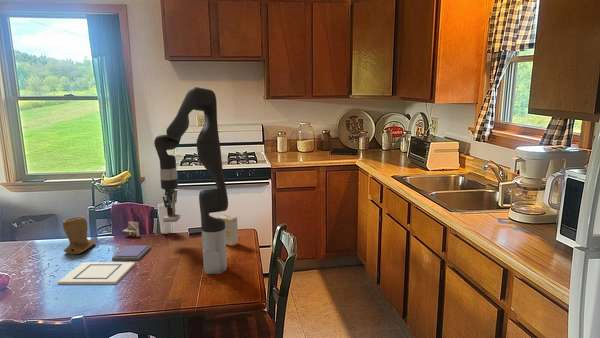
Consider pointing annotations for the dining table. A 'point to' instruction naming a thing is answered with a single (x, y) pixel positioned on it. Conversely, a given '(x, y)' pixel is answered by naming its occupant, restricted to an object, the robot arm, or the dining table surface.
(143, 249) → the pad
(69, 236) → the brown bookend
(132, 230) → the architectural model
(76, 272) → the marking board
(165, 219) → the stamp
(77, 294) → the dining table surface
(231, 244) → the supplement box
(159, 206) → the tall white block
